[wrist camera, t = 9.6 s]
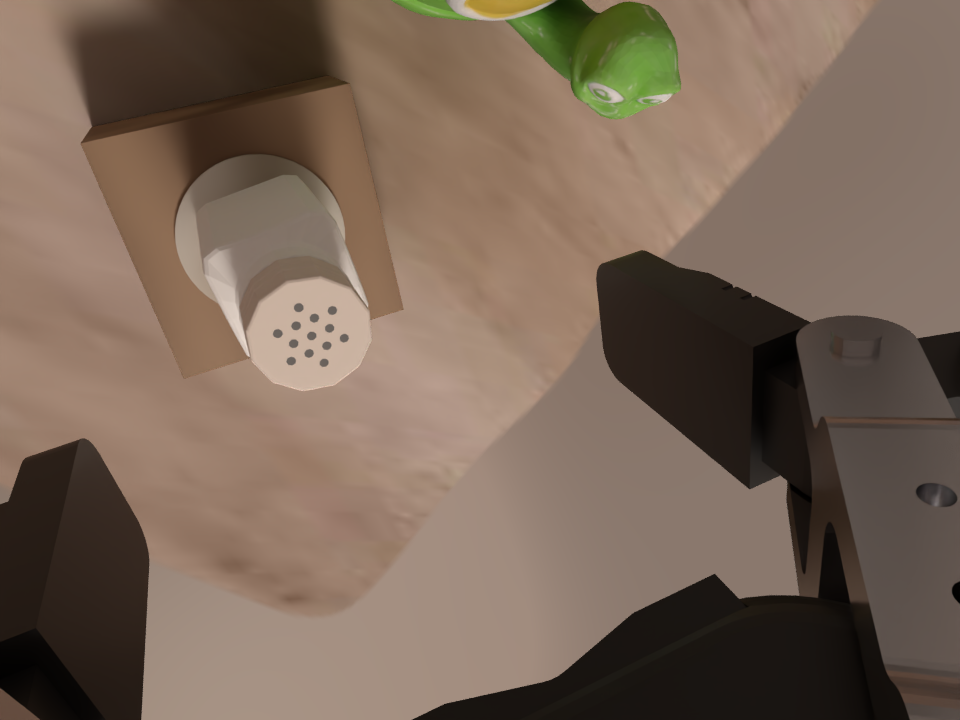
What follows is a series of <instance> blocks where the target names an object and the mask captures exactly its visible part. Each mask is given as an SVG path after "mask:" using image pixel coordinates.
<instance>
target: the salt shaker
mask: <svg viewBox="0 0 960 720" xmlns="http://www.w3.org/2000/svg"><path fill="white" fill-rule="evenodd" d="M196 223H197V232H198V239H199V246H200V253H201V260H202V267H203V274H204V276H205V278H206V280H207V282H208V284H209V286H210V288H211V290H212V292H213V294H214V296H215V298H216V300H217V302H218V304H219V305H220V307H221V309H222V311H223V313H224V315H225V317H226V319H227V321H228V323H229V325H230V326H231V328H232V330H233V332H234V334H235V336H236V337H237V339H238V341H239V343H240V345H241V346H242V348H243V350H244V352H245V353H246V355H247V356H249V357H250V359H251V361H252V362H253V363H254V364H255V365H256V366H257V367H258V368H259V369H260V371H261V372H262V373H263V374H264V375H265V376H266V377H267V378H268V379H269V380H270V381H271V382H272V383H276V384H279V385H283V386H286V387H290V388H293V389H297V390H300V391H307V390H312V389H317V388H322V387H327V386H332V385H335V384H336V383H338V382H339V381H340V380H342V379H343V378H344V377H346V376H347V375H348V374H350V373H351V372H352V371H354V370H355V369H356V368H358V367H359V366H360V364H361V362H362V359H363V357H364V355H365V353H366V351H367V349H368V347H369V345H370V343H371V340H372V331H371V321H370V311H369V309H368V300H367V298H366V295H365V292H364V289H363V287H362V284H361V281H360V279H359V276H358V274H357V271H356V268H355V266H354V263H353V261H352V258H351V256H350V253H349V251H348V249H347V246H346V244H345V241H344V239H343V237H342V234H341V232H340V230H339V227H338V225H337V222H336V221H335V219H334V218H333V217H332V216H331V215H330V213H329V212H328V211H327V210H326V209H325V207H324V206H323V205H322V204H321V202H320V201H319V200H318V199H317V198H316V196H315V195H314V194H313V193H312V192H311V190H310V189H309V188H308V187H307V186H306V184H305V183H304V182H303V181H302V180H301V179H300V178H299V177H298V176H297V175H281V176H279V177H276V178H273V179H270V180H268V181H265V182H262V183H260V184H257V185H254V186H252V187H249V188H246V189H244V190H241V191H238V192H236V193H233V194H230V195H228V196H225V197H222V198H220V199H217V200H214V201H212V202H209V203H206V204H205V205H204V206H203V207H202V208H201V209H200V210H199V211H198V212H197V213H196Z"/></svg>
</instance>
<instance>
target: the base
mask: <svg viewBox="0 0 960 720" xmlns="http://www.w3.org/2000/svg"><path fill="white" fill-rule="evenodd" d="M81 145H82V148H83V150H84V152H85V155H86V157H87V159H88V161H89V164H90V166H91V168H92V171H93V173H94V175H95V177H96V180H97V182H98V184H99V186H100V189H101V191H102V193H103V196H104V198H105V200H106V202H107V205H108V207H109V209H110V211H111V214H112V216H113V218H114V221H115V223H116V225H117V227H118V230H119V232H120V234H121V237H122V239H123V241H124V243H125V246H126V248H127V250H128V252H129V255H130V257H131V259H132V262H133V264H134V266H135V268H136V271H137V273H138V275H139V278H140V280H141V282H142V284H143V287H144V289H145V291H146V293H147V296H148V298H149V300H150V303H151V305H152V307H153V309H154V312H155V314H156V316H157V318H158V321H159V323H160V325H161V328H162V330H163V332H164V334H165V337H166V339H167V341H168V344H169V346H170V348H171V350H172V353H173V355H174V357H175V359H176V362H177V364H178V366H179V369H180V371H181V373H182V375H183V378H184V379H185V378H188V377H191V376H195V375H198V374H201V373H204V372H207V371H210V370H214V369H217V368H220V367H223V366H226V365H229V364H233V363H236V362H239V361H242V360H245V359H248V358H250V357H249V356H247V355H246V353H245V352H244V350H243V348H242V346H241V345H240V343H239V341H238V339H237V337H236V336H235V334H234V332H233V330H232V328H231V326H230V325H229V323H228V321H227V319H226V317H225V315H224V313H223V311H222V309H221V307H220V305H219V304H218V302H217V300H216V298H215V296H214V294H213V292H212V290H211V288H210V286H209V284H208V282H207V280H206V278H205V276H204V274H203V267H202V260H201V253H200V246H199V239H198V232H197V223H196V213H197V212H198V211H199V210H200V209H201V208H202V207H203V206H204V205H205V204H206V203H209V202H212V201H214V200H217V199H220V198H222V197H225V196H228V195H230V194H233V193H236V192H238V191H241V190H244V189H246V188H249V187H252V186H254V185H257V184H260V183H262V182H265V181H268V180H270V179H273V178H276V177H279V176H281V175H297V176H298V177H299V178H300V179H301V180H302V181H303V182H304V183H305V184H306V186H307V187H308V188H309V189H310V190H311V192H312V193H313V194H314V195H315V196H316V198H317V199H318V200H319V201H320V202H321V204H322V205H323V206H324V207H325V209H326V210H327V211H328V212H329V213H330V215H331V216H332V217H333V218H334V219H335V221H336V222H337V225H338V227H339V230H340V232H341V234H342V237H343V239H344V241H345V244H346V246H347V249H348V251H349V253H350V256H351V258H352V261H353V263H354V266H355V268H356V271H357V274H358V276H359V279H360V281H361V284H362V287H363V289H364V292H365V295H366V298H367V300H368V309H369V311H370V320H372V319H375V318H378V317H381V316H384V315H387V314H390V313H394V312H397V311H400V310H403V305H402V301H401V296H400V292H399V288H398V284H397V280H396V275H395V271H394V267H393V263H392V259H391V254H390V250H389V246H388V242H387V238H386V233H385V229H384V225H383V221H382V217H381V212H380V208H379V204H378V200H377V196H376V191H375V187H374V183H373V179H372V175H371V170H370V166H369V162H368V158H367V154H366V149H365V145H364V141H363V137H362V133H361V128H360V124H359V120H358V116H357V112H356V107H355V103H354V99H353V95H352V91H351V86H350V83H347V82H344V81H342V80H339V79H336V78H333V77H331V76H324V77H319V78H314V79H310V80H305V81H301V82H296V83H291V84H287V85H282V86H278V87H273V88H268V89H264V90H259V91H255V92H250V93H246V94H241V95H236V96H232V97H227V98H223V99H218V100H213V101H209V102H204V103H200V104H195V105H190V106H186V107H181V108H177V109H172V110H168V111H163V112H158V113H154V114H149V115H145V116H140V117H135V118H131V119H126V120H122V121H117V122H112V123H108V124H103V125H99V126H94V127H91V129H90V130H89V132H88V133H87V135H86V136H85V138H84V139H83V141H82V142H81Z"/></svg>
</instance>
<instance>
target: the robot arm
mask: <svg viewBox="0 0 960 720" xmlns="http://www.w3.org/2000/svg"><path fill="white" fill-rule="evenodd" d="M596 280H597V292H598V301H599V311H600V321H601V331H602V341H603V349H604V354H605V357H606V360H607V363H608V365H609V367H610V369H611V371H612V373H613V374H614V376H615V377H616V378H617V379H618V380H619V381H620V382H621V383H622V384H623V385H624V386H625V387H627V388H628V389H629V390H630V391H631V392H633V393H634V394H635V395H636V396H638V397H639V398H640V399H641V400H642V401H644V402H645V403H646V404H647V405H648V406H650V407H651V408H652V409H653V410H654V411H656V412H657V413H658V414H659V415H660V416H662V417H663V418H664V419H665V420H667V421H668V422H669V423H670V424H671V425H673V426H674V427H675V428H676V429H677V430H679V431H680V432H681V433H682V434H683V435H685V436H686V437H687V438H688V439H689V440H691V441H692V442H693V443H694V444H695V445H697V446H698V447H699V448H700V449H702V450H703V451H704V452H705V453H706V454H708V455H709V456H710V457H711V458H712V459H714V460H715V461H716V462H717V463H718V464H720V465H721V466H722V467H723V468H724V469H726V470H727V471H728V472H729V473H731V474H732V475H733V476H734V477H736V478H737V479H738V480H739V481H740V482H741V483H743V484H744V485H745V486H746V487H748V488H749V489H751V488H754V487H756V486H758V485H760V484H762V483H765V482H767V481H769V480H771V479H773V478H776V477H778V476H780V475H781V476H782V477H783V478H784V479H786V480H787V495H786V502H787V509H788V517H789V524H790V531H791V539H792V546H793V553H794V561H795V568H796V575H797V583H798V590H799V596H786V595H781V596H780V595H778V596H777V595H776V596H775V595H770V596H758V597H748V598H742V599H738V598H737V596H735V594H734V593H733V592H732V591H731V590H730V589H729V588H728V587H727V586H726V585H725V584H724V583H723V582H722V581H721V580H720V579H719V578H718V577H717V576H716V575H715V574H713V575H711V576H709V577H707V578H705V579H703V580H701V581H699V582H697V583H695V584H693V585H691V586H688V587H686V588H685V589H682V590H680V591H678V592H676V593H674V594H672V595H670V596H668V597H666V598H664V599H661V600H659V601H657V602H655V603H653V604H651V605H649V606H647V607H645V608H643V609H641V610H639V611H637V612H634V613H633V614H632V615H630V616H629V617H628V618H627V619H626V620H624V621H623V622H622V623H621V624H620V625H619V626H617V627H616V628H615V629H614V630H613V631H612V632H610V633H609V634H608V635H607V636H606V637H604V638H603V639H602V640H601V641H600V642H599V643H597V644H596V645H595V646H594V647H593V648H592V649H590V650H589V651H588V652H587V653H586V654H585V655H583V656H582V657H581V658H580V659H579V660H578V661H576V662H575V663H574V664H573V665H572V666H571V667H569V668H568V669H567V670H566V671H565V672H563V673H562V674H561V675H559V676H558V677H556V678H554V679H552V680H549V681H546V682H542V683H537V684H533V685H529V686H524V687H520V688H515V689H510V690H506V691H501V692H497V693H493V694H488V695H483V696H479V697H474V698H469V699H465V700H460V701H456V702H451V703H447V704H444V705H442V706H440V707H438V708H435V709H433V710H431V711H429V712H427V713H425V714H423V715H421V716H419V717H417V718H415V719H413V720H960V332H954V333H948V334H942V335H936V336H930V337H923V338H916V337H915V335H914V334H913V333H911V332H910V331H909V330H907V329H906V328H904V327H902V326H900V325H898V324H895V323H893V322H889V321H886V320H882V319H879V318H872V317H866V316H836V317H829V318H824V319H820V320H817V321H814V322H812V323H811V322H809V321H807V320H804V319H802V318H800V317H798V316H796V315H794V314H792V313H790V312H788V311H786V310H784V309H782V308H780V307H778V306H776V305H773V304H771V303H769V302H767V301H765V300H763V299H761V298H759V297H757V296H755V297H752V295H751V293H749V292H747V291H745V290H743V289H741V288H739V287H735V288H733V286H732V284H730V283H728V282H726V281H724V280H722V279H720V278H718V277H716V276H714V275H712V274H709V273H705V272H700V271H695V270H690V269H685V268H679V267H677V266H675V265H673V264H671V263H669V262H667V261H665V260H663V259H661V258H659V257H657V256H655V255H653V254H651V253H649V252H647V251H643V250H641V251H638V252H635V253H632V254H629V255H626V256H623V257H620V258H617V259H614V260H611V261H608V262H605V263H602V264H601V265H600V266H599V268H598V270H597V277H596ZM148 575H149V553H148V548H147V544H146V540H145V537H144V534H143V531H142V529H141V526H140V524H139V522H138V520H137V518H136V516H135V515H134V513H133V511H132V509H131V508H130V506H129V504H128V503H127V501H126V499H125V497H124V496H123V494H122V492H121V490H120V489H119V487H118V485H117V484H116V482H115V480H114V478H113V477H112V475H111V473H110V471H109V470H108V468H107V466H106V465H105V463H104V461H103V459H102V458H101V456H100V454H99V453H98V451H97V449H96V448H95V447H94V445H93V444H92V443H91V442H90V441H88V440H87V439H80V440H77V441H74V442H71V443H68V444H65V445H62V446H59V447H56V448H53V449H50V450H47V451H44V452H41V453H38V454H35V455H32V456H30V457H27V458H25V459H24V460H23V462H22V464H21V467H20V470H19V473H18V475H17V478H16V481H15V484H14V487H13V490H12V493H11V496H10V498H9V501H8V502H6V503H3V504H0V720H141V713H142V694H143V693H142V692H143V675H144V655H145V635H146V616H147V597H148V577H149V576H148Z"/></svg>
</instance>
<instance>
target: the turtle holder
mask: <svg viewBox="0 0 960 720" xmlns="http://www.w3.org/2000/svg"><path fill="white" fill-rule="evenodd" d="M392 1H393V2H395V3H396V4H398V5H400V6H402V7H404V8H406V9H408V10H410V11H413V12H416V13H419V14H422V15H427V16H431V17H439V18H448V19H457V20H487V21H498V20H505V21H506V22H508V23H509V24H510V25H511V26H512V27H513V28H514V29H515V30H516V31H517V32H518V33H519V34H520V35H521V36H522V37H523V38H524V39H525V40H526V42H527V43H528V44H529V45H530V46H531V47H532V48H533V49H534V50H535V51H536V52H537V53H538V54H539V55H540V56H541V57H543V58H544V60H545V61H546V62H547V63H548V64H549V65H550V66H551V67H552V68H554V69H555V70H556V71H557V72H558V73H560V74H561V75H562V76H563V77H564V78H566V79H568V80H569V81H571V88H572V91H573V93H574V95H575V96H576V97H577V99H579V100H581V101H582V102H584V103H586V104H587V105H588V106H589V107H590V108H591V109H593V110H594V111H596V112H597V113H598V114H599V115H601V116H603V117H606V118H609V119H622V118H625V117H628V116H631V115H634V114H636V113H637V112H639V111H641V110H644V109H646V108H648V107H650V106H655V105H658V104H660V103H662V102H665V101H667V100H668V99H669V98H670V97H671V96H672V95H674V94H675V93H677V92H679V91H680V89H681V81H680V76H679V70H678V52H677V46H676V42H675V38H674V36H673V35H672V32H671V30H670V29H669V28H668V25H667V23H666V22H665V20H664V19H663V18H662V16H661V15H660V14H659V12H658V11H656V10H655V9H654V8H652V7H651V6H649V5H645V4H641V3H635V2H623V3H619V4H617V5H615V6H612V7H610V8H608V9H607V10H605V11H603V12H602V13H596V12H594V11H593V10H592V9H590V8H589V7H588V6H587V5H586V4H585V3H584V2H583V1H582V0H392Z"/></svg>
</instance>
